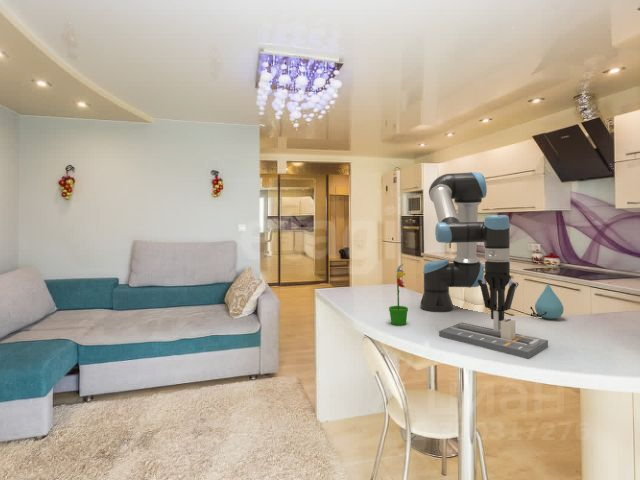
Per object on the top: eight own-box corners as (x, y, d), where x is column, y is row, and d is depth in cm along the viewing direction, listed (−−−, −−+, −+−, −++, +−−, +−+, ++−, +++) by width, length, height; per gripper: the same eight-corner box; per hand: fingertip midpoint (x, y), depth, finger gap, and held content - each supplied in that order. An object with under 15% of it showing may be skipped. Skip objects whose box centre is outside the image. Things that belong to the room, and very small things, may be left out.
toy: (536, 312, 159) (536, 279, 158) (567, 316, 151) (567, 281, 150) (527, 318, 149) (527, 283, 148) (559, 323, 140) (559, 286, 140)
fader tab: (506, 336, 120) (506, 318, 119) (515, 338, 117) (515, 319, 117) (500, 338, 117) (500, 320, 117) (510, 340, 115) (510, 322, 115)
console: (462, 327, 139) (462, 319, 138) (547, 346, 115) (547, 336, 115) (439, 336, 129) (439, 327, 128) (528, 358, 105) (528, 348, 105)
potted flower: (408, 326, 141) (407, 265, 141) (389, 326, 143) (387, 265, 142) (407, 320, 151) (406, 262, 150) (389, 320, 152) (388, 262, 151)
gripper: (472, 260, 122) (473, 327, 122) (512, 262, 111) (512, 336, 112) (483, 258, 126) (484, 323, 127) (522, 260, 116) (522, 331, 117)
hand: (497, 329), depth 120 cm, fingers closed
